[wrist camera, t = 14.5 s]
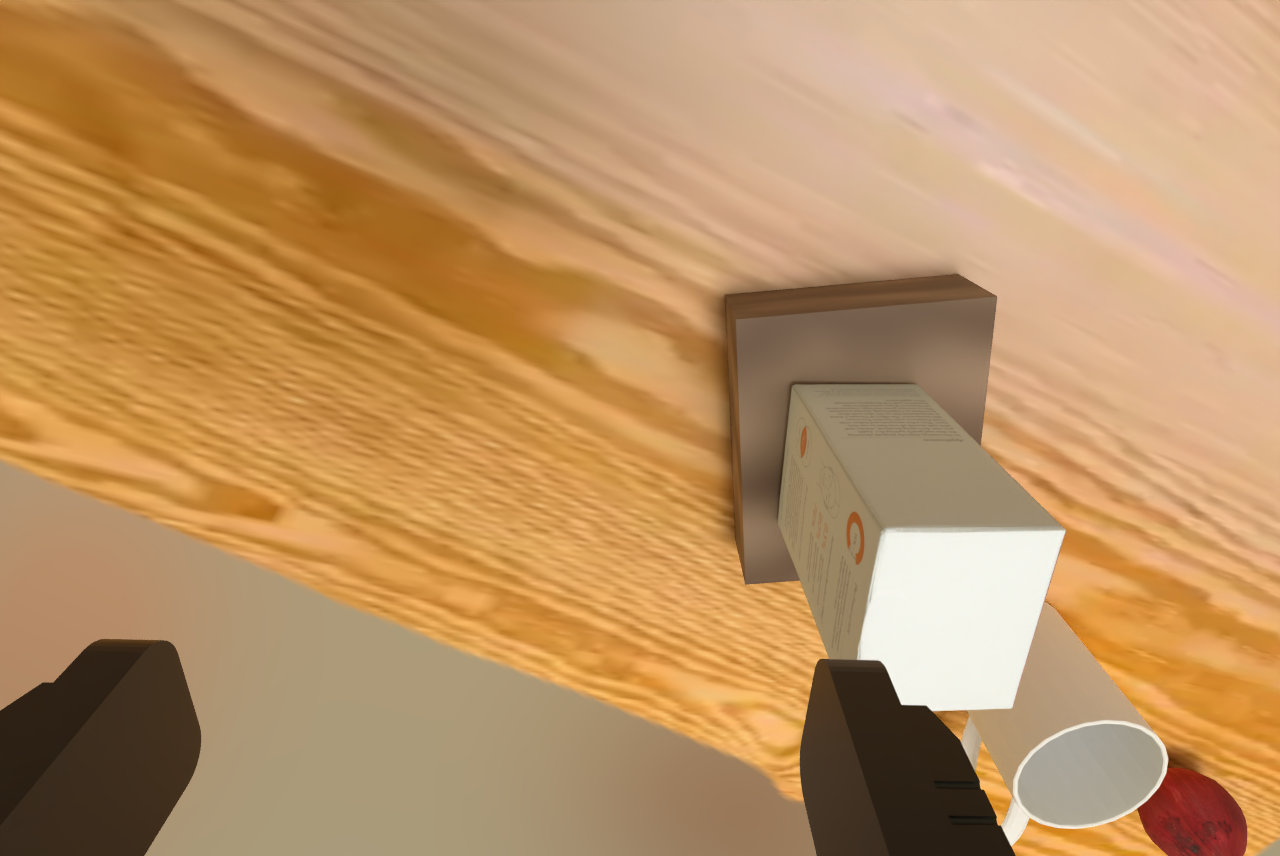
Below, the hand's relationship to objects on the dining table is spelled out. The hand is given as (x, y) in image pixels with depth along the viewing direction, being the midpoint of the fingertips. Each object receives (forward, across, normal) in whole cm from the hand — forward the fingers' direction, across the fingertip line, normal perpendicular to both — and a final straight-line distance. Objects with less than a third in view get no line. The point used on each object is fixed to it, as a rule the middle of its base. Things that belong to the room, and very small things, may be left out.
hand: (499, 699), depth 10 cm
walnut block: (+31, -14, +10) cm, 35 cm away
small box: (+26, -13, +10) cm, 31 cm away
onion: (+30, -40, +37) cm, 62 cm away
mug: (+30, -26, +27) cm, 48 cm away
